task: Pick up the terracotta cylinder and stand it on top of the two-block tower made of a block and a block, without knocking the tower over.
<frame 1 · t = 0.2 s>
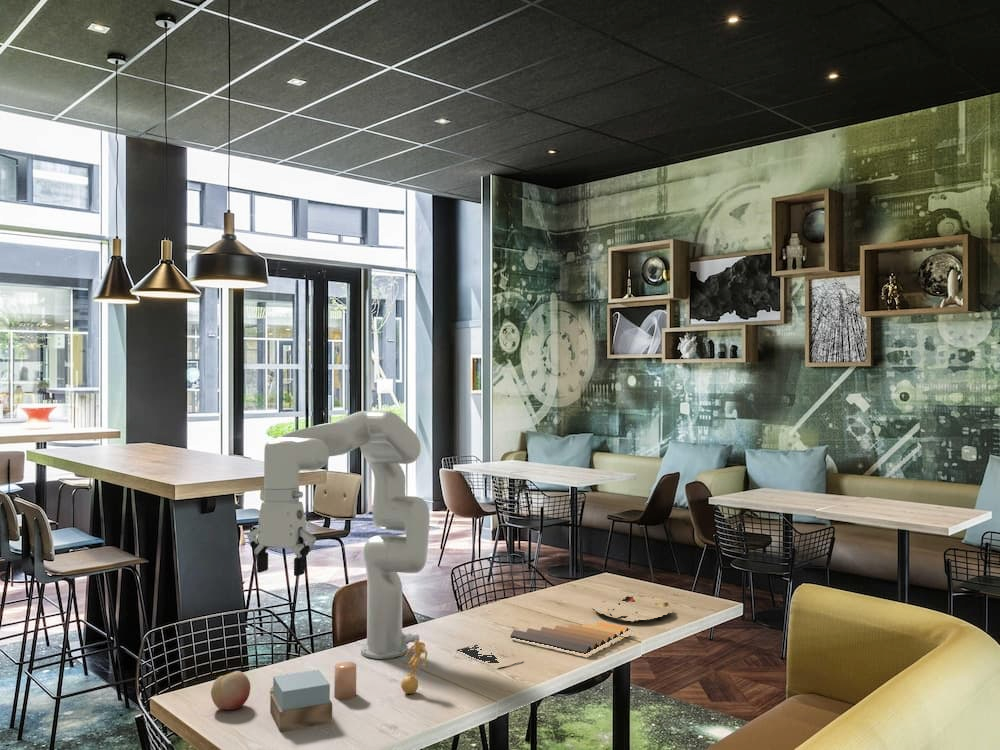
hand: (280, 573, 176), 31 cm above the table, tool pointing down, fingers open, 9 cm apart
terracotta cylinder: (345, 695, 185), on the table
pan flute: (570, 640, 229), on the table
bottom block: (300, 719, 173), on the table, touching top block
fruit: (230, 709, 178), on the table
figurine: (413, 693, 187), on the table
food plate: (632, 615, 254), on the table
top block: (301, 698, 173), point 4 cm above the table, touching bottom block
cell phone: (489, 658, 213), on the table
shard: (283, 691, 190), on the table
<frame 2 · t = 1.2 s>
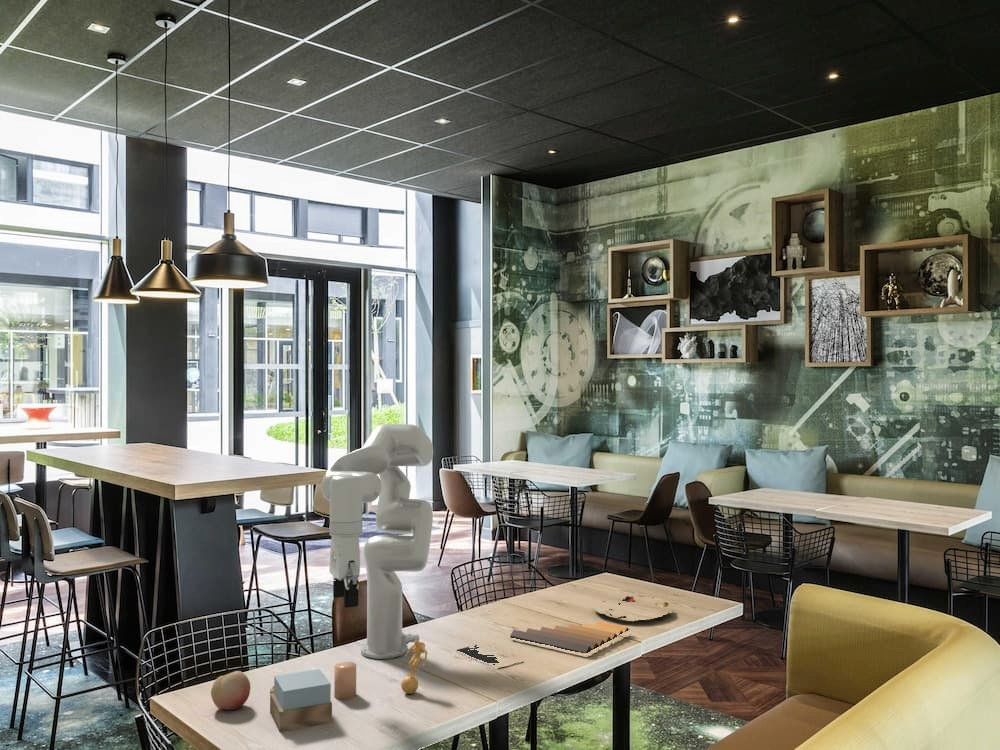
hand: (345, 601, 185), 22 cm above the table, tool pointing down, fingers open, 9 cm apart
nothing on the table moved.
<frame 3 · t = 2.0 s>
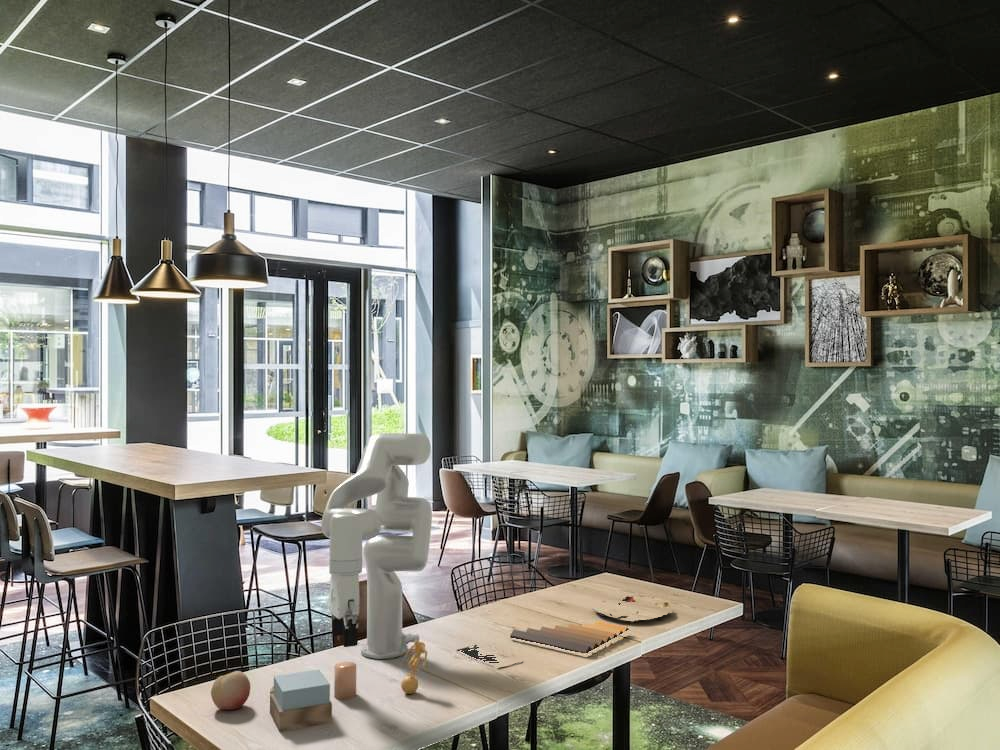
hand: (344, 640, 185), 13 cm above the table, tool pointing down, fingers open, 9 cm apart
nothing on the table moved.
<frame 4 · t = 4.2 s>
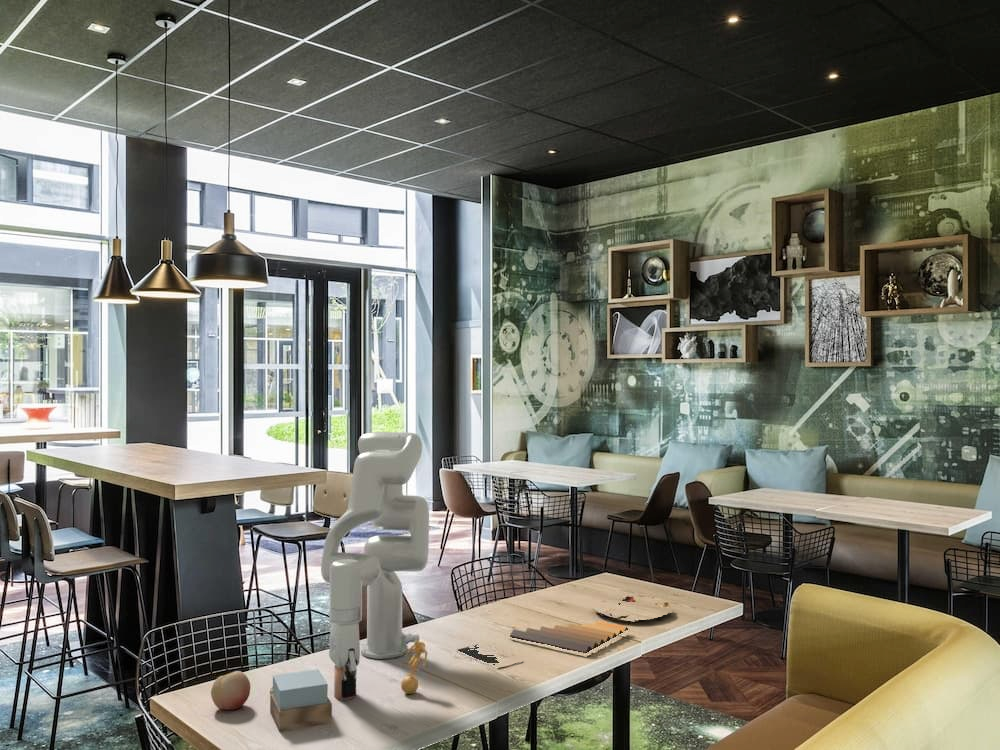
hand: (345, 691, 185), 1 cm above the table, tool pointing down, fingers closed on terracotta cylinder, 5 cm apart
terracotta cylinder: (345, 695, 185), on the table, touching gripper
everything else where it was.
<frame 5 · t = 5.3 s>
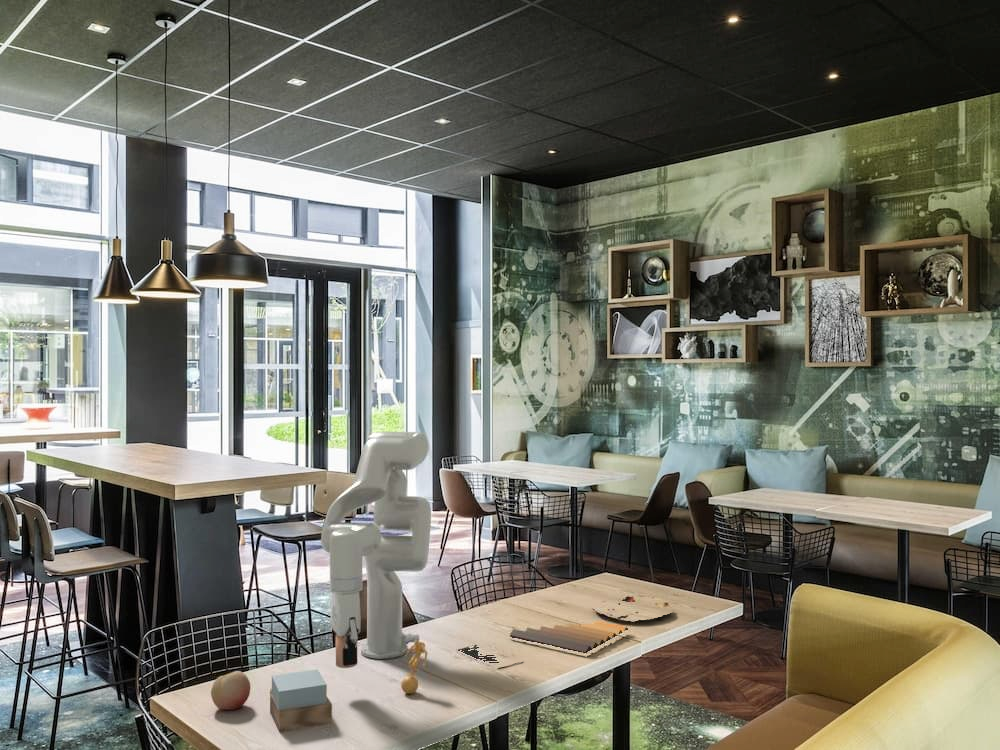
hand: (346, 659, 186), 8 cm above the table, tool pointing down, fingers closed on terracotta cylinder, 5 cm apart
terracotta cylinder: (346, 663, 186), point 7 cm above the table, touching gripper
everything else where it was.
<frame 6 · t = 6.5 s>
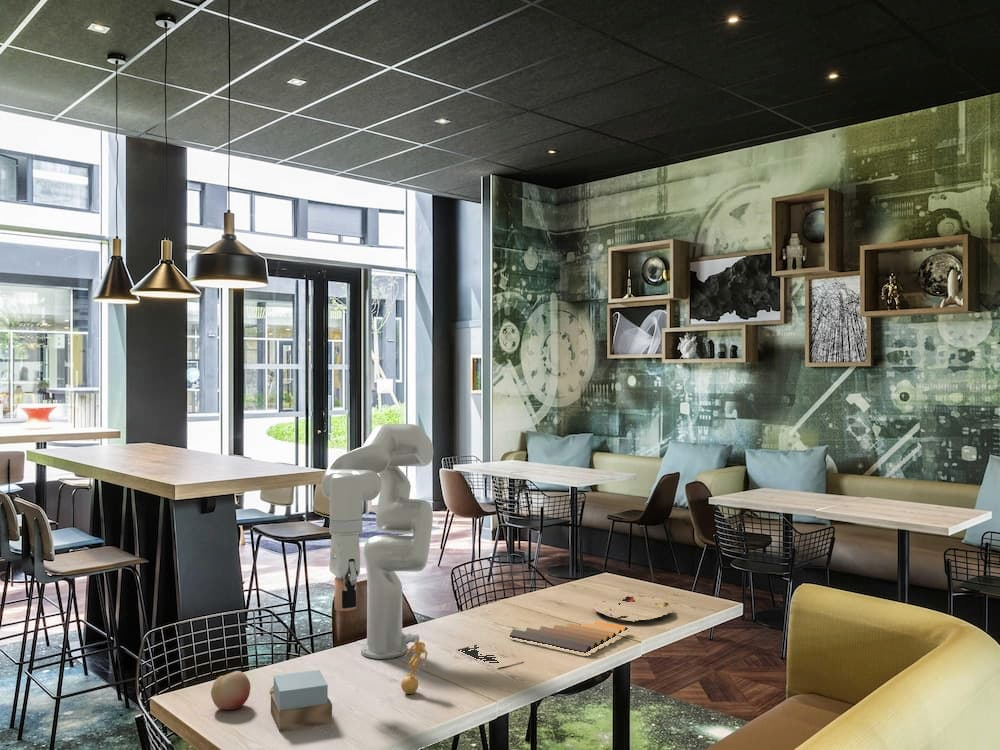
hand: (345, 603, 186), 21 cm above the table, tool pointing down, fingers closed on terracotta cylinder, 5 cm apart
terracotta cylinder: (345, 607, 186), point 20 cm above the table, touching gripper
everything else where it was.
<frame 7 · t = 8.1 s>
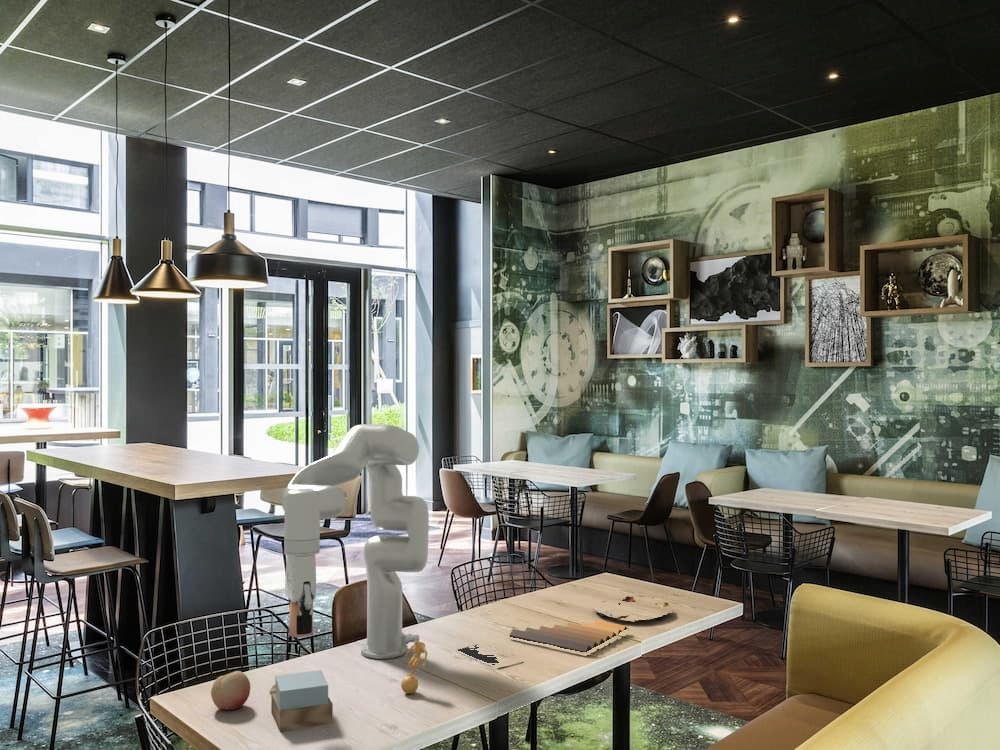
hand: (301, 629, 173), 19 cm above the table, tool pointing down, fingers closed on terracotta cylinder, 5 cm apart
terracotta cylinder: (301, 633, 173), point 18 cm above the table, touching gripper
everything else where it was.
when the fingers open (11 cm above the table, at t = 10.2 s): terracotta cylinder drops 2 cm, point 8 cm above the table.
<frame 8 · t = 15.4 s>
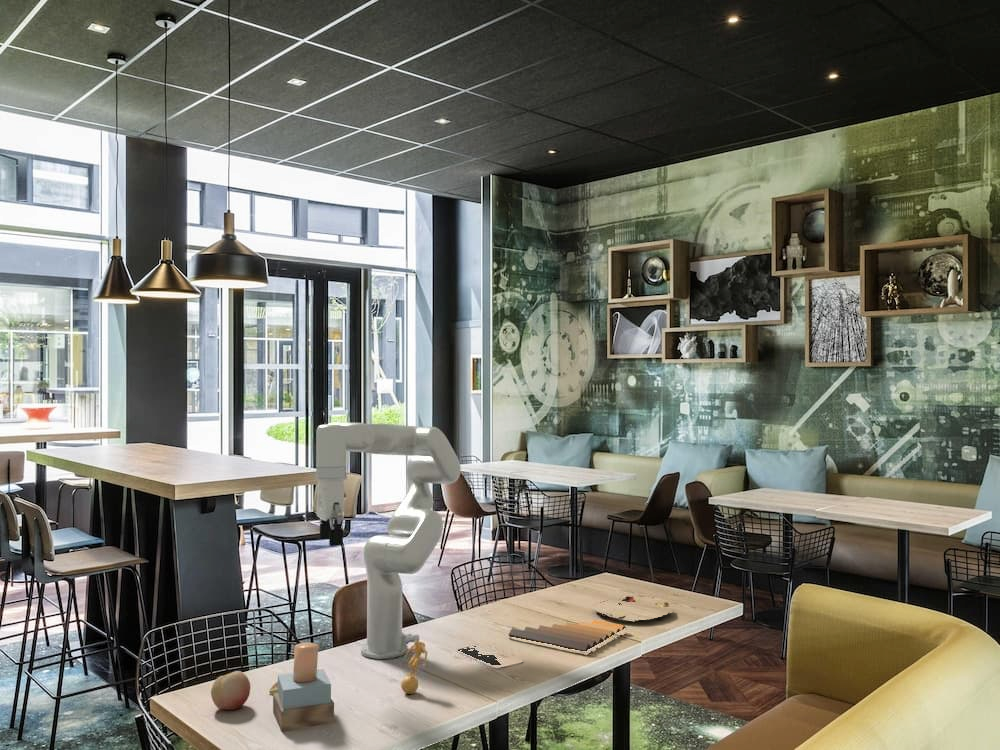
hand: (331, 542, 198), 33 cm above the table, tool pointing down, fingers open, 9 cm apart
terracotta cylinder: (304, 678, 173), point 8 cm above the table
bottom block: (303, 719, 173), on the table
top block: (303, 697, 173), point 4 cm above the table
at the end: terracotta cylinder 0.1 cm off-centre on the top block, point 4.2 cm above the top block's base; top block 0.3 cm from the bottom block (horizontally); terracotta cylinder tilted 4° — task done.
